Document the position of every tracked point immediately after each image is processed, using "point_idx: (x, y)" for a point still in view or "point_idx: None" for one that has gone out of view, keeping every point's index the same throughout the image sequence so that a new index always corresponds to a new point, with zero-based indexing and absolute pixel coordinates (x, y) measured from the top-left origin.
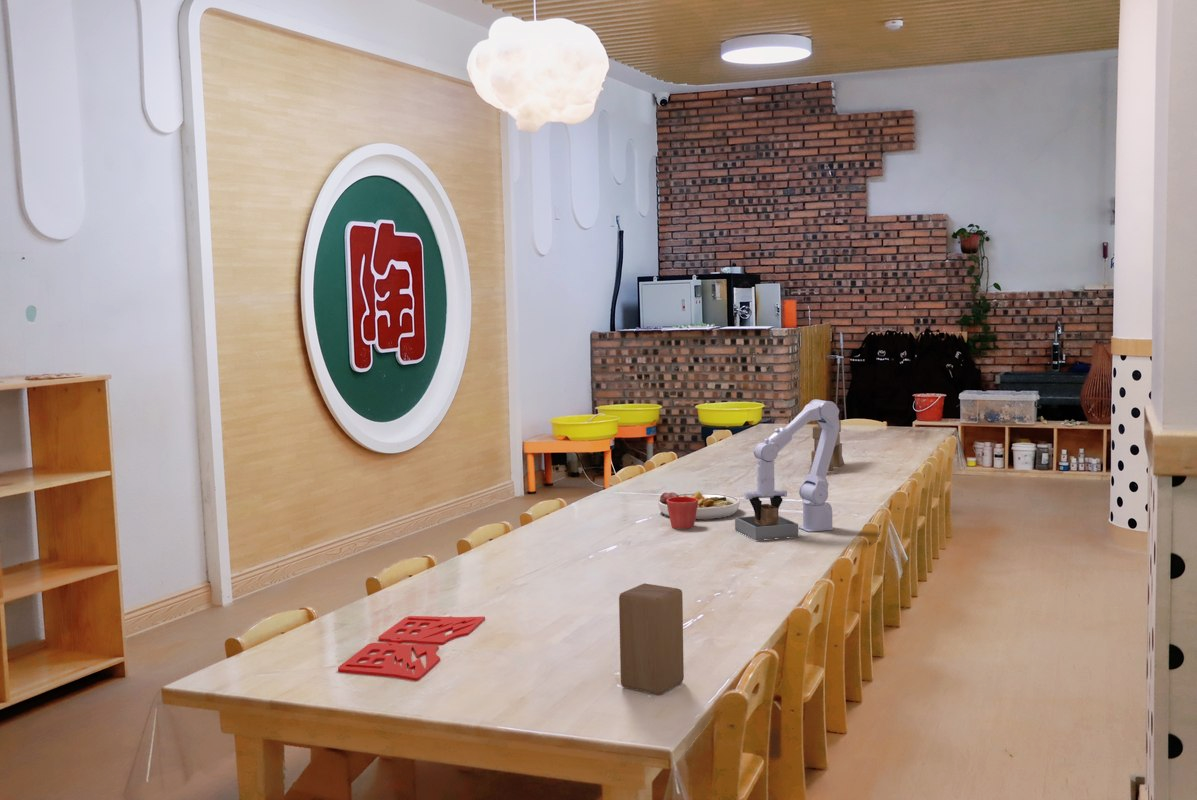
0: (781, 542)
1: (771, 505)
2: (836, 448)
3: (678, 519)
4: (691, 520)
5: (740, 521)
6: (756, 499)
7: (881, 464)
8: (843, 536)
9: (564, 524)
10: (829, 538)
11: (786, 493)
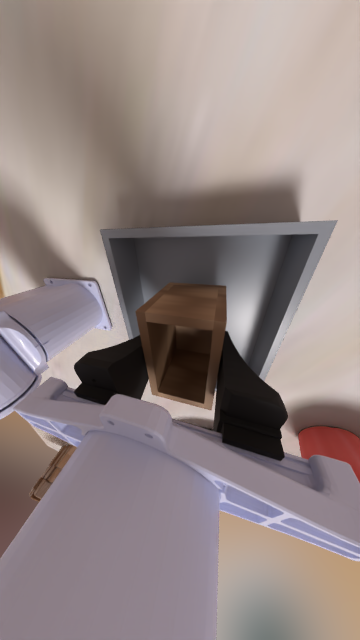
0: (216, 153)
1: (150, 370)
2: (54, 462)
3: None
4: (337, 446)
5: (266, 370)
6: (247, 427)
7: (42, 435)
8: (13, 193)
9: None
10: (45, 175)
11: (33, 393)
